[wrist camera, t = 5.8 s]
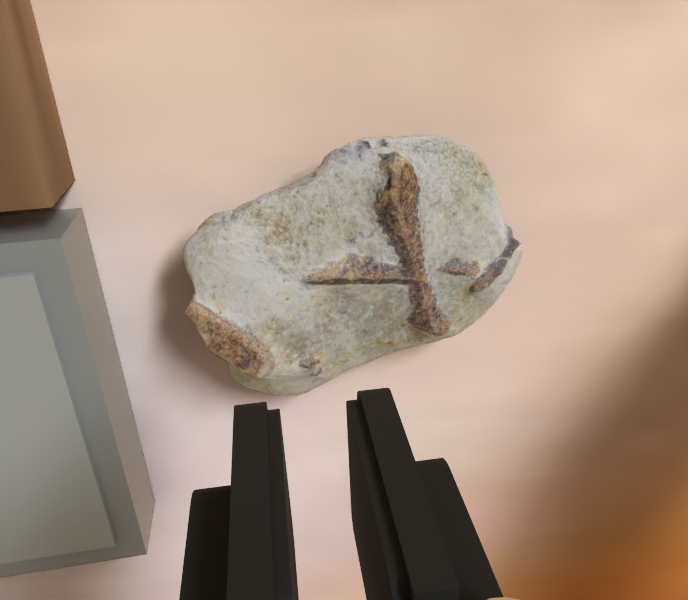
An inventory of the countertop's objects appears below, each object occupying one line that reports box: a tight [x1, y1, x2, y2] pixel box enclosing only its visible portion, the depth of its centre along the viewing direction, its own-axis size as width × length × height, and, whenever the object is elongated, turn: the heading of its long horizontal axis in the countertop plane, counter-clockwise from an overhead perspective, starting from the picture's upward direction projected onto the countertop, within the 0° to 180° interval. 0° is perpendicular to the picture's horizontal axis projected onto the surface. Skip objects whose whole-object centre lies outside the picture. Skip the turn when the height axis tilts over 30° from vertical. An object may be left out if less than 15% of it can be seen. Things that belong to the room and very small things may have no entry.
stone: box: [183, 135, 522, 395], centre depth 22 cm, size 12×9×3 cm
